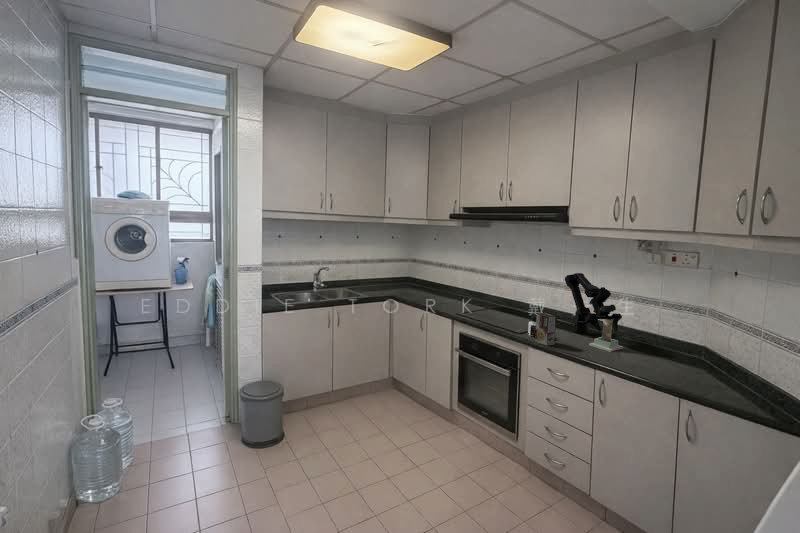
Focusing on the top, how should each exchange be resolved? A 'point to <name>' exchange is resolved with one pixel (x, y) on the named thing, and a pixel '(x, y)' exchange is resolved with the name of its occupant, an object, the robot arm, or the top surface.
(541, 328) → the coffee box
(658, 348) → the top surface
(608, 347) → the socket collar
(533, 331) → the medicine bottle
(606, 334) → the birch peg
